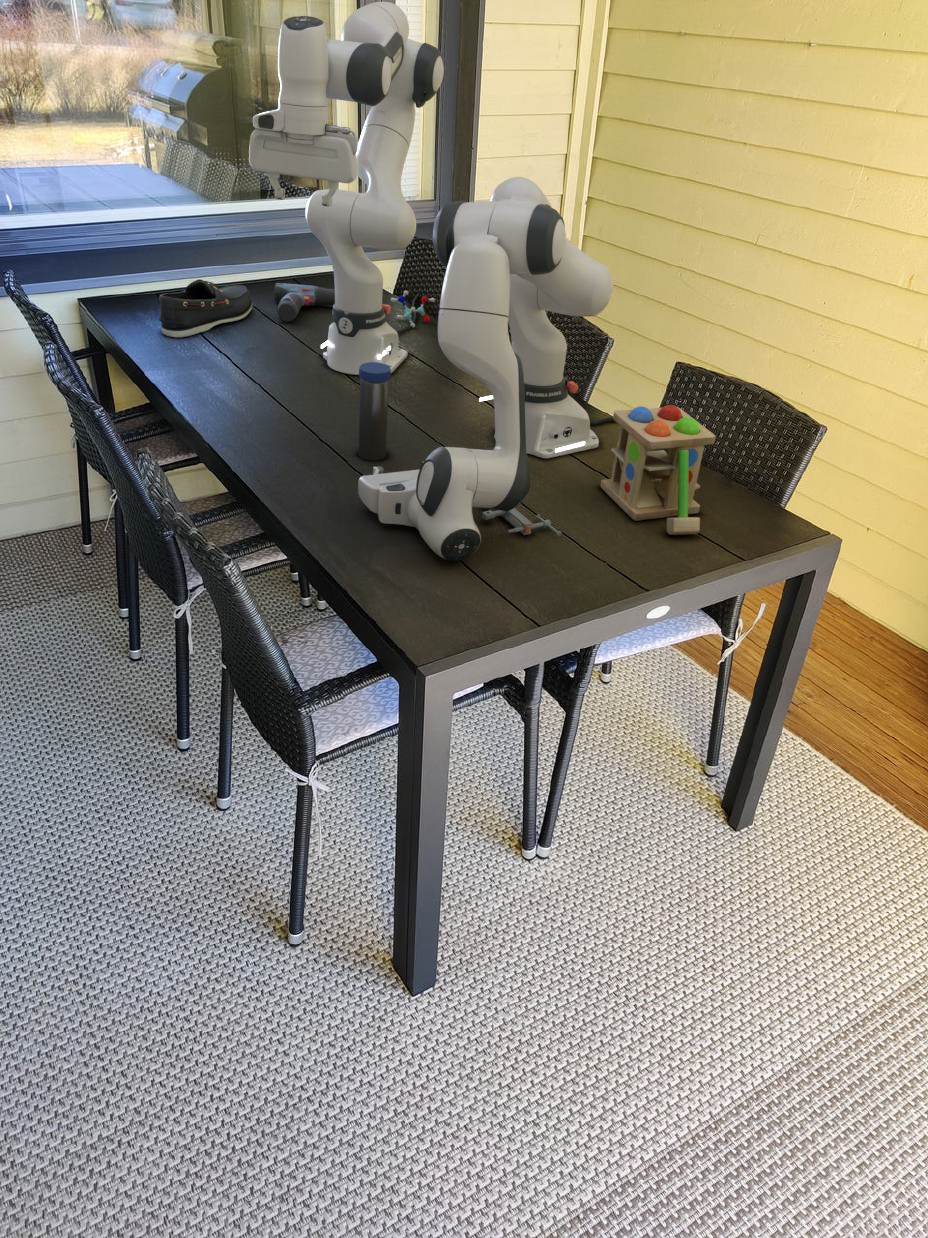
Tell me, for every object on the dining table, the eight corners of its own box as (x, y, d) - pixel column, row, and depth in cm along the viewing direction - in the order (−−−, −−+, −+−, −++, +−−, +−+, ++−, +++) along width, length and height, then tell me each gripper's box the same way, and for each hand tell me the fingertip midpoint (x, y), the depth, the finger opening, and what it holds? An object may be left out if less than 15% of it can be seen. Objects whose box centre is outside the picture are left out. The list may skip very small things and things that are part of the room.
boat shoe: (271, 314, 265) (269, 274, 259) (179, 339, 241) (175, 296, 235) (235, 305, 270) (233, 266, 265) (143, 329, 246) (138, 287, 241)
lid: (389, 384, 185) (390, 374, 184) (357, 381, 185) (357, 372, 184) (391, 372, 190) (391, 363, 189) (360, 370, 190) (360, 360, 189)
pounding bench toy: (723, 535, 180) (747, 445, 170) (656, 543, 176) (676, 451, 166) (661, 480, 198) (680, 395, 188) (598, 486, 193) (614, 400, 183)
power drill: (335, 306, 256) (344, 285, 273) (264, 300, 255) (277, 279, 272) (335, 327, 259) (344, 304, 276) (264, 320, 258) (277, 299, 275)
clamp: (472, 500, 179) (518, 491, 183) (471, 511, 180) (516, 501, 185) (516, 538, 168) (563, 528, 173) (514, 550, 170) (562, 539, 174)
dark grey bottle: (385, 461, 195) (388, 376, 185) (357, 459, 194) (359, 373, 184) (386, 450, 199) (389, 365, 189) (359, 448, 199) (361, 363, 189)
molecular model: (427, 319, 259) (415, 282, 258) (396, 332, 263) (384, 296, 261) (442, 321, 269) (430, 285, 268) (412, 333, 273) (400, 298, 272)
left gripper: (363, 126, 179) (361, 206, 187) (258, 112, 182) (260, 192, 190) (352, 130, 174) (350, 212, 181) (244, 115, 177) (246, 197, 184)
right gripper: (482, 478, 174) (453, 446, 184) (373, 492, 167) (349, 457, 177) (479, 510, 178) (451, 476, 188) (372, 524, 170) (348, 488, 181)
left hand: (303, 202), depth 185 cm, fingers open, 8 cm apart
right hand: (400, 467), depth 183 cm, fingers open, 8 cm apart
